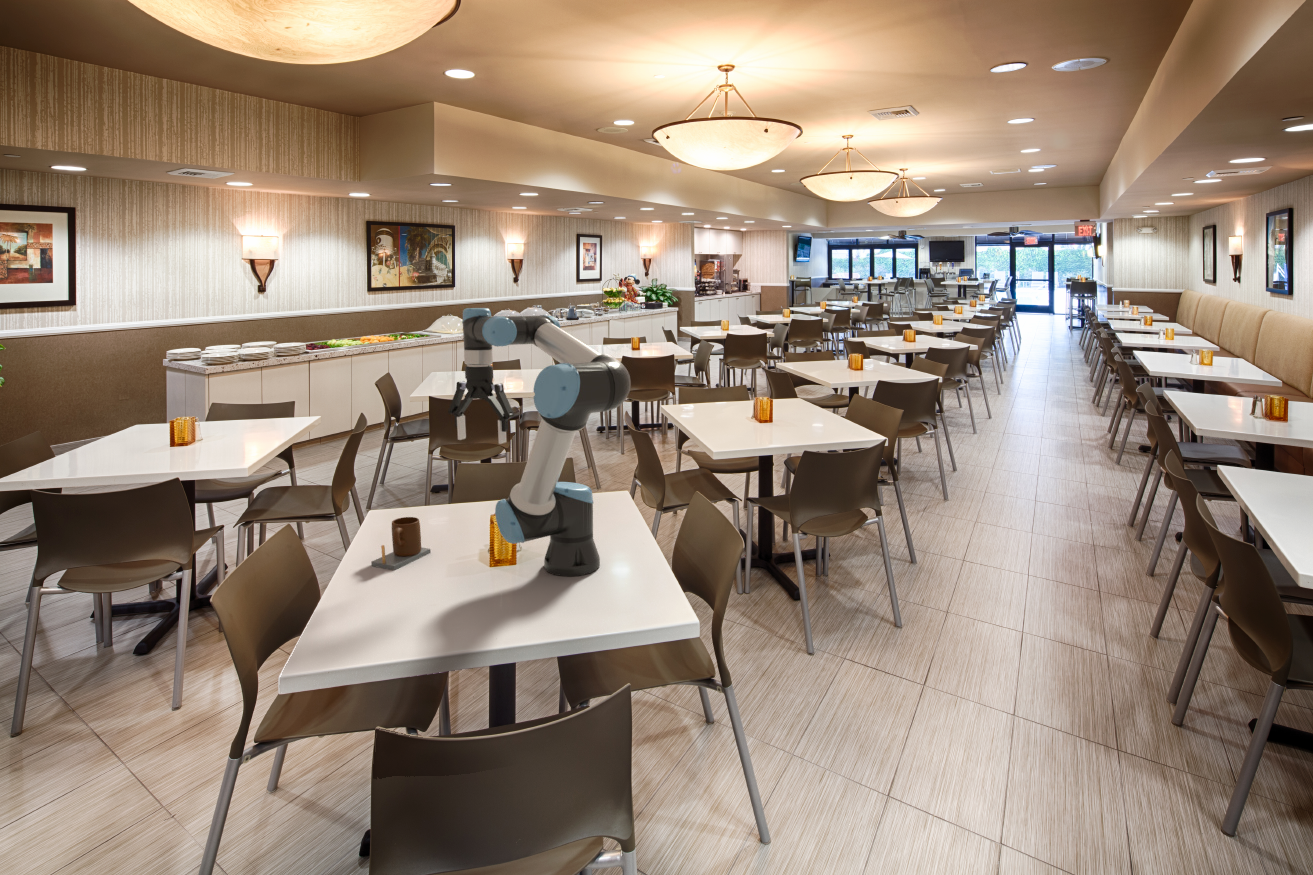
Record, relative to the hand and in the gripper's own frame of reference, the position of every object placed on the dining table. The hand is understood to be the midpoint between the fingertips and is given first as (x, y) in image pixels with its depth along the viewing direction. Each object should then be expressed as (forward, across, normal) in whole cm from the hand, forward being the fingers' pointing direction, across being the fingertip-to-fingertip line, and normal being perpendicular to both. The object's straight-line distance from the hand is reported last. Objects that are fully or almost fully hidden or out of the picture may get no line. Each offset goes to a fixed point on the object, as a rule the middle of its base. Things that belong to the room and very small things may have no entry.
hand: (482, 441), depth 204 cm
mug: (+32, +18, +14) cm, 39 cm away
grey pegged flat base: (+33, +18, +14) cm, 40 cm away
